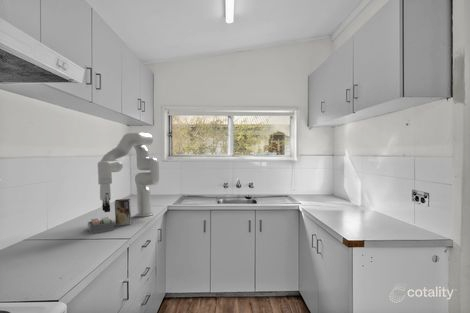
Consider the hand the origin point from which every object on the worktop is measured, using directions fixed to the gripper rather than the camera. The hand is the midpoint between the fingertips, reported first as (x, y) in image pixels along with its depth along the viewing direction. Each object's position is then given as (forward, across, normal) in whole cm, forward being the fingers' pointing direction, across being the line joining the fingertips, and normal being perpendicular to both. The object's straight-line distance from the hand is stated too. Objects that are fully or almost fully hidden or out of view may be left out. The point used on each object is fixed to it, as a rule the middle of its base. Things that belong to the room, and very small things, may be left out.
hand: (106, 210), depth 189 cm
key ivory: (+9, -6, 0) cm, 11 cm away
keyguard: (+12, -3, -3) cm, 12 cm away
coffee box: (+12, -9, +12) cm, 19 cm away
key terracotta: (+9, 0, -6) cm, 11 cm away
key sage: (+9, 0, 0) cm, 9 cm away
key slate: (+9, -6, -6) cm, 12 cm away
